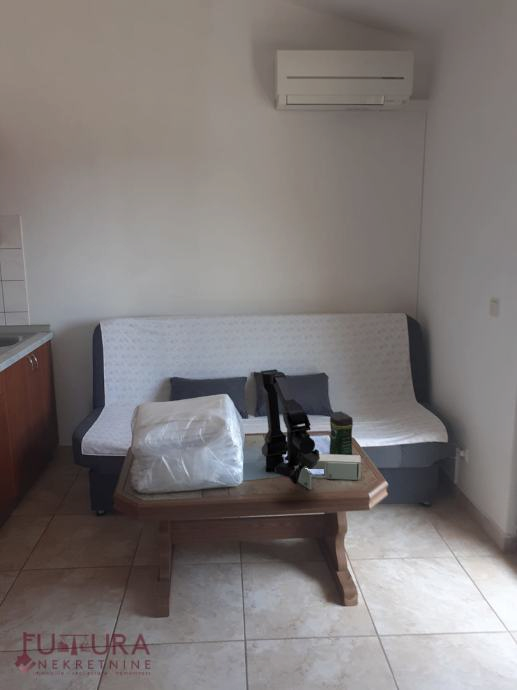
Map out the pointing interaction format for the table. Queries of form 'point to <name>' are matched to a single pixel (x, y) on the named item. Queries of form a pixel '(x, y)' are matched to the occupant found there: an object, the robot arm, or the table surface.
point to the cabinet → (339, 466)
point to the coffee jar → (341, 434)
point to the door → (305, 478)
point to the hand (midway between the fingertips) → (295, 483)
